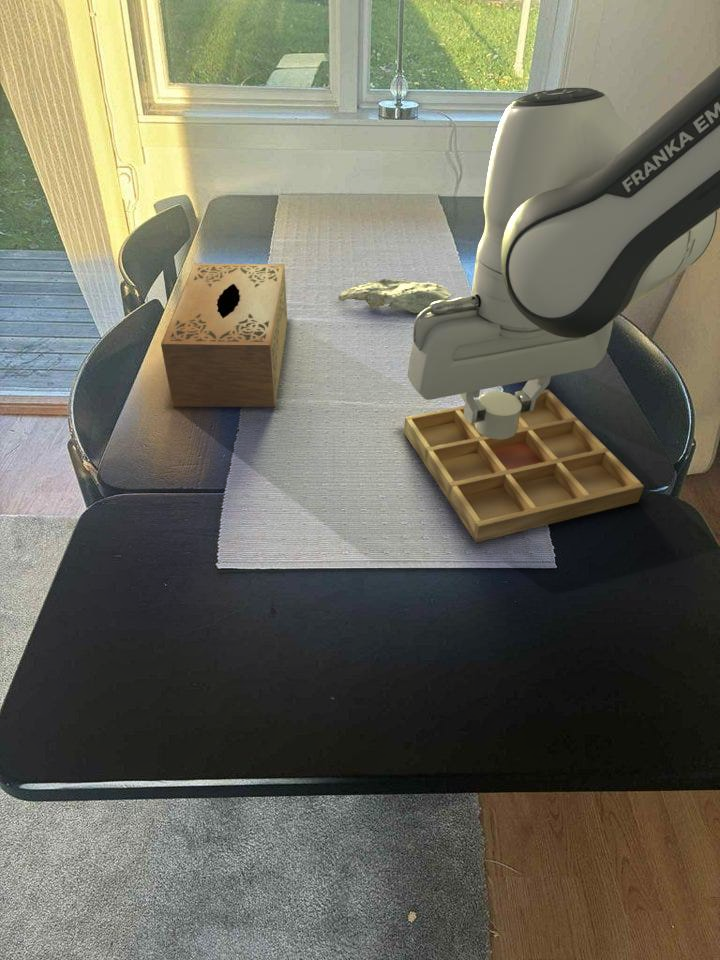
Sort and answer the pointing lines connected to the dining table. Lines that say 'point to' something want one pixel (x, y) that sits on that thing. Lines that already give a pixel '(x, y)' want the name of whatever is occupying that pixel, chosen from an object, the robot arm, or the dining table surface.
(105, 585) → the dining table surface
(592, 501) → the board
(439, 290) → the rock
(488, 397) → the white cylinder
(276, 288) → the tissue box cover
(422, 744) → the dining table surface
